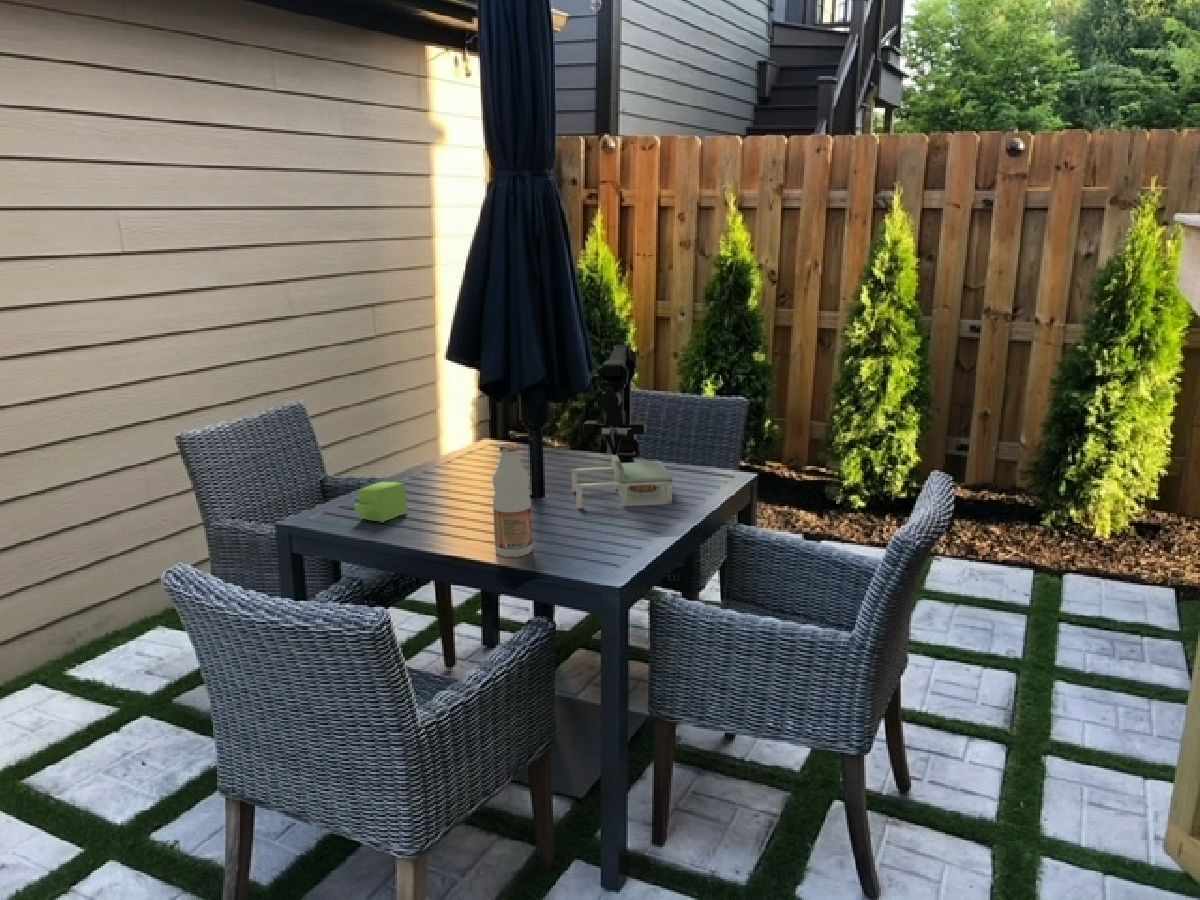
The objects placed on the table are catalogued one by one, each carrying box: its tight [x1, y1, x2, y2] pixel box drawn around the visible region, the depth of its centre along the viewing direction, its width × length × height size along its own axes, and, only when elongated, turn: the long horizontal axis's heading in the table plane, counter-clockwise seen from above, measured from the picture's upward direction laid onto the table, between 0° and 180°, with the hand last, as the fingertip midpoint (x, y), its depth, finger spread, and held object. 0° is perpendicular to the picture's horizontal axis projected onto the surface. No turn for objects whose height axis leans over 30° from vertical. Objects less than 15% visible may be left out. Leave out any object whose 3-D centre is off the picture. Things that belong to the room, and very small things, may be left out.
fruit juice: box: [492, 442, 533, 558], centre depth 239 cm, size 9×9×28 cm
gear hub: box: [633, 485, 654, 492], centre depth 288 cm, size 6×6×5 cm
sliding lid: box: [610, 454, 673, 482], centre depth 286 cm, size 19×16×4 cm
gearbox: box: [353, 481, 408, 523], centre depth 273 cm, size 18×10×10 cm, turn 152°
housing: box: [571, 466, 673, 509], centre depth 287 cm, size 19×28×7 cm
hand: (614, 455), depth 287 cm, fingers closed
